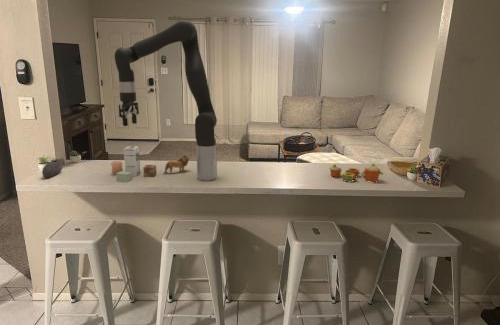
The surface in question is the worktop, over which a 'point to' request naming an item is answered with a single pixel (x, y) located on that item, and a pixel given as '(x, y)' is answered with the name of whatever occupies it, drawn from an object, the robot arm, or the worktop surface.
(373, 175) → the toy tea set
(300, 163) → the worktop surface
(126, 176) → the sage painted block
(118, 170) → the orange-brown rounded piece
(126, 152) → the syrup box
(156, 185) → the worktop surface
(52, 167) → the perforated stone tool
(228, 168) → the worktop surface
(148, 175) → the walnut block
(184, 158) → the lion figurine
